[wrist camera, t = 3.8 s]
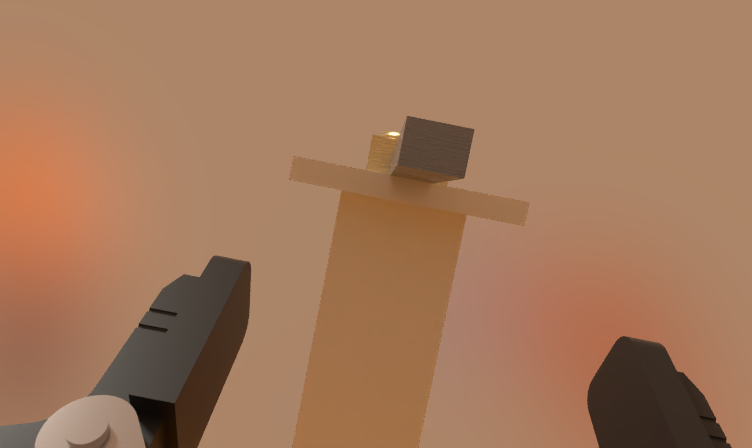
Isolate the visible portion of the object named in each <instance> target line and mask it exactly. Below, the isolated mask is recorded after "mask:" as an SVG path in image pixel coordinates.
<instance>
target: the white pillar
mask: <svg viewBox="0 0 752 448" xmlns="http://www.w3.org/2000/svg"><path fill="white" fill-rule="evenodd" d="M289 180H293V181H298V182H303V183H308V184H313V185H318V186H323V187H328V188H334V189H339V190H342V192H341V196H340V201H339V207H338V212H337V217H336V222H335V227H334V233H333V238H332V243H331V248H330V253H329V259H328V264H327V269H326V274H325V280H324V285H323V290H322V295H321V300H320V305H319V311H318V316H317V321H316V326H315V332H314V337H313V342H312V347H311V352H310V358H309V363H308V368H307V373H306V378H305V384H304V389H303V394H302V399H301V405H300V410H299V415H298V421H297V425H296V430H295V436H294V441H293V446H292V448H418V447H419V442H420V437H421V432H422V427H423V423H424V418H425V413H426V408H427V403H428V398H429V393H430V389H431V384H432V379H433V374H434V370H435V365H436V360H437V355H438V350H439V345H440V341H441V336H442V331H443V326H444V321H445V317H446V312H447V307H448V302H449V297H450V293H451V287H452V283H453V278H454V273H455V268H456V263H457V259H458V254H459V249H460V244H461V239H462V235H463V229H464V224H465V220H466V215H471V216H476V217H481V218H486V219H491V220H496V221H501V222H506V223H512V224H516V225H521V226H524V225H525V221H526V216H527V211H528V207H529V203H528V202H524V201H519V200H514V199H508V198H503V197H498V196H493V195H488V194H483V193H478V192H473V191H468V190H463V189H458V188H453V187H447V186H443V185H438V184H433V183H428V182H422V181H417V180H412V179H407V178H402V177H397V176H392V175H387V174H382V173H377V172H372V171H367V170H362V169H356V168H352V167H347V166H341V165H336V164H331V163H326V162H321V161H316V160H311V159H306V158H301V157H296V156H294V157H293V162H292V167H291V172H290V178H289Z"/></svg>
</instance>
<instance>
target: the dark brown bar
mask: <svg viewBox="0 0 752 448" xmlns="http://www.w3.org/2000/svg"><path fill="white" fill-rule="evenodd" d="M473 133H474V129H470V128H465V127H460V126H455V125H450V124H445V123H440V122H434V121H430V120H425V119H420V118H415V117H410V116H407V118H406V120H405V123H404V125H403V128H402V130H401V132H392V131H384V132H382V136H377V135H373V136H372V141H371V146H370V151H369V156H368V161H367V166H366V170H367V171H372V172H377V173H382V174H387V175H392V176H397V177H402V178H407V179H412V180H417V181H422V182H428V183H433V184H438V185H443V186H447V182H448V181H452V180H457V179H463V178H464V177H465V172H466V167H467V162H468V158H469V153H470V148H471V143H472V138H473Z"/></svg>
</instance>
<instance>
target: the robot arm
mask: <svg viewBox="0 0 752 448" xmlns="http://www.w3.org/2000/svg"><path fill="white" fill-rule="evenodd" d="M250 281H251V265H250V263H249V262H247V261H242V260H237V259H231V258H226V257H221V256H213V257H212V258H211V260H210V262H209V263H208V265H207V267H206V268H205V270H204V271H203V273H202V275H201V276H200V277H195V276H190V275H185V274H184V275H183V276H181V277H179V278H178V279H176V280H175V281H173V282H172V283H170V284H169V285H168V286H166V287H165V288H163V289H162V291H161V292H160V294H159V295H158V296H157V298H156V300H155V301H154V302H153V304H152V305H151V307H150V310H149V312H146V314H145V315H144V317H143V318H142V320H141V321H140V323H139V326H138V328H136V329H135V330H134V332H133V333H132V334H131V336H130V337H129V339H128V340H127V342H126V343H125V345H124V346H123V348H122V349H121V350H120V352H119V353H118V355H117V356H116V358H115V359H114V361H113V362H112V364H111V365H110V367H109V368H108V369H107V371H106V372H105V374H104V375H103V377H102V378H101V380H100V381H99V383H98V384H97V386H96V387H95V388H94V389H93V391H92V392H91V393H90V394H89V395H88V396H87V397H85V398H81V399H79V400H76V401H73V402H71V403H69V404H67V405H65V406H64V407H63V408H61V409H59V410H58V411H57V412H56V413H54V414H53V415H52V416H51V417H50V418H49V419H47V420H43V421H40V422H34V423H26V424H17V425H7V426H0V448H197V447H198V445H199V442H200V440H201V438H202V435H203V433H204V430H205V428H206V426H207V423H208V421H209V419H210V416H211V414H212V412H213V410H214V407H215V405H216V403H217V400H218V398H219V396H220V393H221V391H222V389H223V386H224V384H225V381H226V379H227V377H228V375H229V372H230V370H231V368H232V365H233V363H234V361H235V358H236V356H237V354H238V351H239V349H240V347H241V344H242V342H243V339H244V336H245V333H246V329H247V324H248V319H249V307H250ZM587 401H588V410H589V414H590V417H591V421H592V424H593V427H594V431H595V434H596V437H597V441H598V444H599V448H731V446H730V444H727V443H726V436H725V434H724V433H723V431H722V429H721V427H720V425H719V424H717V423H716V417H715V416H714V414H713V412H712V410H711V408H710V406H709V404H708V402H707V400H706V399H705V397H704V395H703V394H702V393H701V392H700V391H699V389H698V388H697V387H696V386H695V385H694V384H693V383H692V382H691V381H690V380H689V379H688V378H687V376H686V375H685V374H684V373H682V372H677V371H676V369H675V367H674V365H673V363H672V361H671V359H670V357H669V355H668V353H667V351H666V349H665V347H664V346H663V345H661V344H660V343H656V342H651V341H646V340H641V339H636V338H630V337H625V336H623V337H620V338H619V339H618V340H617V341H616V342H615V344H614V346H613V347H612V349H611V350H610V352H609V353H608V355H607V357H606V358H605V360H604V362H603V363H602V365H601V367H600V368H599V370H598V371H597V373H596V374H595V376H594V378H593V379H592V381H591V383H590V386H589V390H588V400H587Z"/></svg>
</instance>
